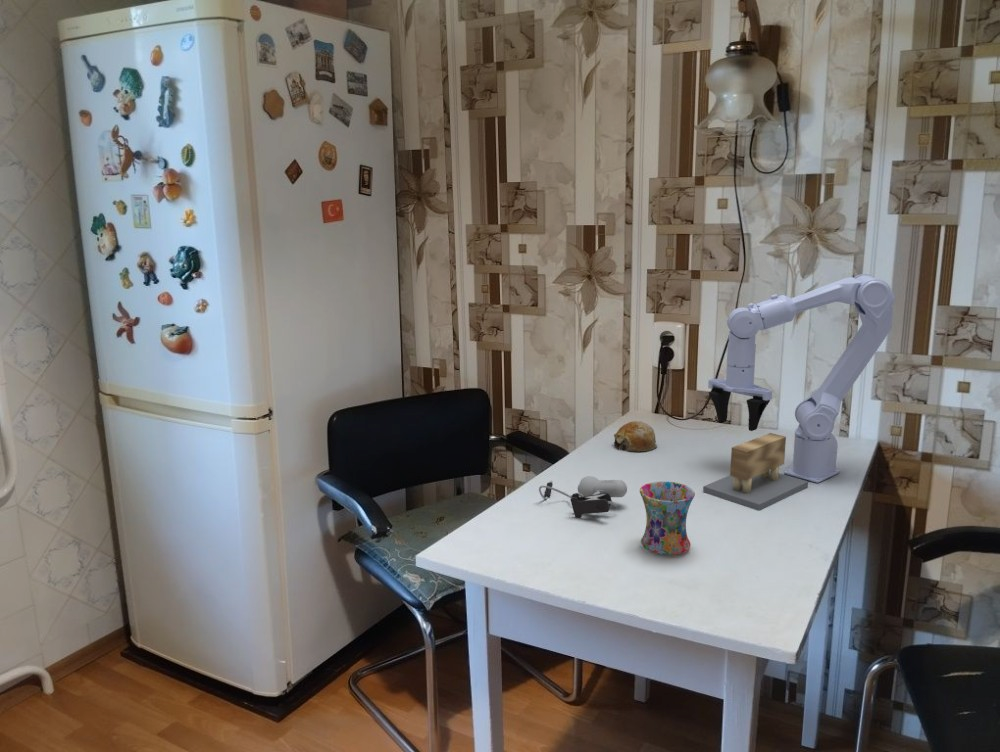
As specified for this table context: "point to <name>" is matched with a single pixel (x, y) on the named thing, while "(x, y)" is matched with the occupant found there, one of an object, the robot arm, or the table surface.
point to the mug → (666, 517)
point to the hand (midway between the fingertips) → (737, 425)
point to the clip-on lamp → (591, 495)
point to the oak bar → (757, 456)
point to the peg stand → (756, 488)
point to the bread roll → (635, 437)
